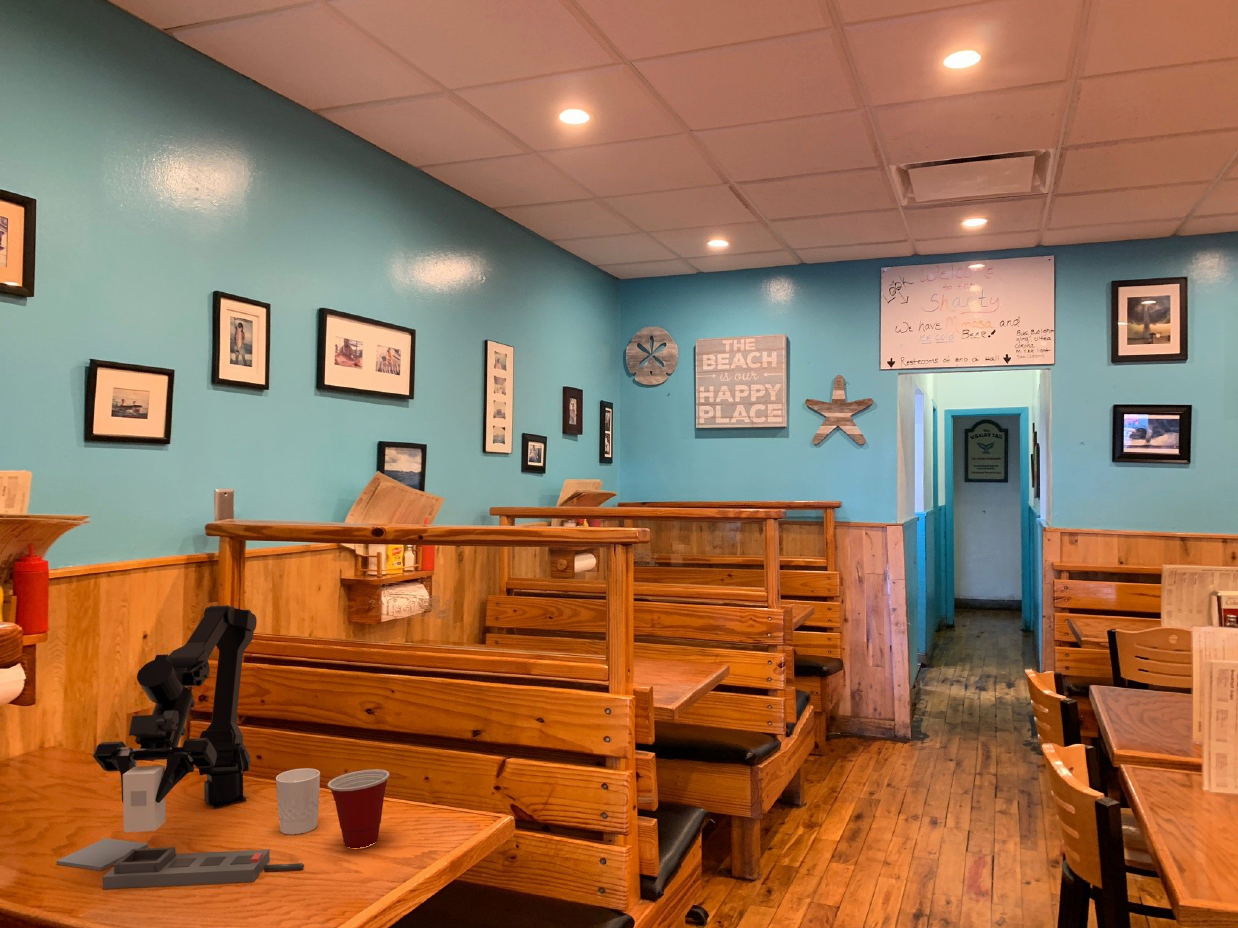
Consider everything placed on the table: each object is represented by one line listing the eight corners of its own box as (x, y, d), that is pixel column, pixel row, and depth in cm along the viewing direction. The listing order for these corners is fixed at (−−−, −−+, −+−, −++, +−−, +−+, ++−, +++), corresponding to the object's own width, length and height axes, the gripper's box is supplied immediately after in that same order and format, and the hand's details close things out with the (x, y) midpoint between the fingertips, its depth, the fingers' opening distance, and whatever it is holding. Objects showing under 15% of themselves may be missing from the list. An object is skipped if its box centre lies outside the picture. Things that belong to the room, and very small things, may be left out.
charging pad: (105, 841, 165) (105, 837, 165) (148, 846, 162) (148, 843, 162) (56, 863, 155) (56, 860, 155) (101, 870, 152) (101, 866, 152)
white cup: (329, 822, 172) (328, 769, 172) (302, 838, 164) (301, 783, 164) (295, 818, 174) (294, 766, 174) (267, 833, 167) (266, 779, 167)
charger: (135, 822, 152) (134, 766, 152) (165, 821, 152) (164, 765, 152) (123, 832, 147) (122, 774, 148) (154, 831, 148) (153, 773, 148)
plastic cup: (353, 828, 169) (352, 764, 169) (402, 834, 165) (401, 769, 165) (315, 851, 158) (314, 783, 158) (367, 858, 155) (366, 789, 155)
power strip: (102, 889, 145) (102, 867, 145) (126, 867, 153) (126, 847, 153) (297, 879, 147) (296, 858, 147) (310, 858, 155) (310, 838, 155)
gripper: (97, 695, 153) (62, 782, 142) (209, 691, 154) (183, 777, 143) (121, 728, 161) (89, 813, 150) (227, 724, 162) (203, 808, 151)
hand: (140, 802), depth 148 cm, fingers closed on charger, 5 cm apart
